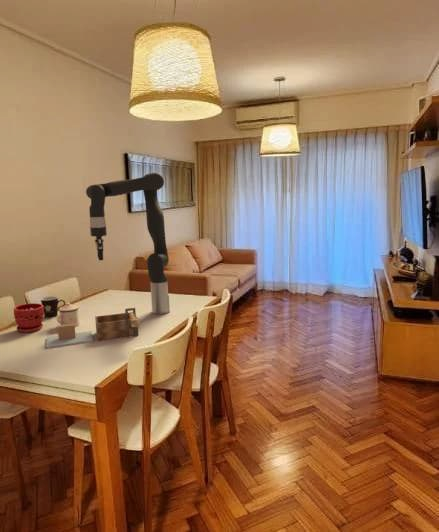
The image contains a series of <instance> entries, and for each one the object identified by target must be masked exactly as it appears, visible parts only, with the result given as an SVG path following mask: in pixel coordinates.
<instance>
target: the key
mask: <svg viewBox="0 0 439 532" xmlns="http://www.w3.org/2000/svg"><path fill="white" fill-rule="evenodd" d="M130 312H131V313H130ZM130 312H128V313H129V317H130V320H131V326H132V327H138V328H139V326H140V325H139V318H137V319H136V318H135V316H134V314H133V311H130Z"/></svg>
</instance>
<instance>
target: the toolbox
mask: <svg viewBox="0 0 439 532" xmlns="http://www.w3.org/2000/svg"><path fill="white" fill-rule="evenodd" d="M124 310H125V311H124V312H122V313H112V314H105V315H98V316H96V315H95V316H94V317H95V330H96V338H97V339H96V340H97V342H101V341H109V340H115V339H123V338H127V339H129V338H131V337H135V338H136V337H138V336H139V326H138V327H132V326H131V320H130V317H129V313H131V312H133V314H134V316H135V318H136V319H138V317H137V314H136V307H129V308H125V309H124ZM129 311H130V312H129Z"/></svg>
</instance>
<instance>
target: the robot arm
mask: <svg viewBox="0 0 439 532" xmlns="http://www.w3.org/2000/svg"><path fill="white" fill-rule="evenodd" d="M164 184H165V179H164V176H163V175H161V174H160V173H158V172H150V173H146V174H144V176H142V177H136V178H131V179H122V180H114V181H110V182H106V183H98V184H92V185H91V184H90V185H88V187H87V188H86V189H85V194H86V197H88V198H89V199H90V205H89V212H88V213H89V229H90V236H91V237H92V238H94V237H95V239H94V243H95V244H94V245H95V248H96V252H97V258H98V261H103V260H104V248H105V247H104V246H105V245H104V243H105V242H104V239H102V238H103V237H106V236H107V234H108V233H107V220H106V214H105V213H106V212H105V204H106V203H105V202H106V198H107V197H108V198H109V197H116V196H117V197H119V196H122V195H128V194H130V193H135V192H140V191H143V195H144V196H143V197H144V200H145V201H144V202H145V216H146V227H147V231H148V233H149V236H150V238H151V240H152V242H153V253H151V254H150V255H149V256H148V257H147V272H148V273H147V274H148V277H149V279H150V280H149V281H150V296H151V297H150V298H151V313H152V314H155V315H160V314H161V315H162V314H167V313H170V311H171V310H170V309H171V308H170V296H169V289H168V288H169V286H168V284H169V283H168V275H166V274H165V272H164V268H166V267H167V266H168V265H169V254H168V248H167V241H166V232H165V231H166V229H165V228H166V227H165V218H164V217H165V216H164V212H163V210H162V207H161V205H160V203H159V198H158V191H159V190H160V189H162V188H163V187H164Z"/></svg>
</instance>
